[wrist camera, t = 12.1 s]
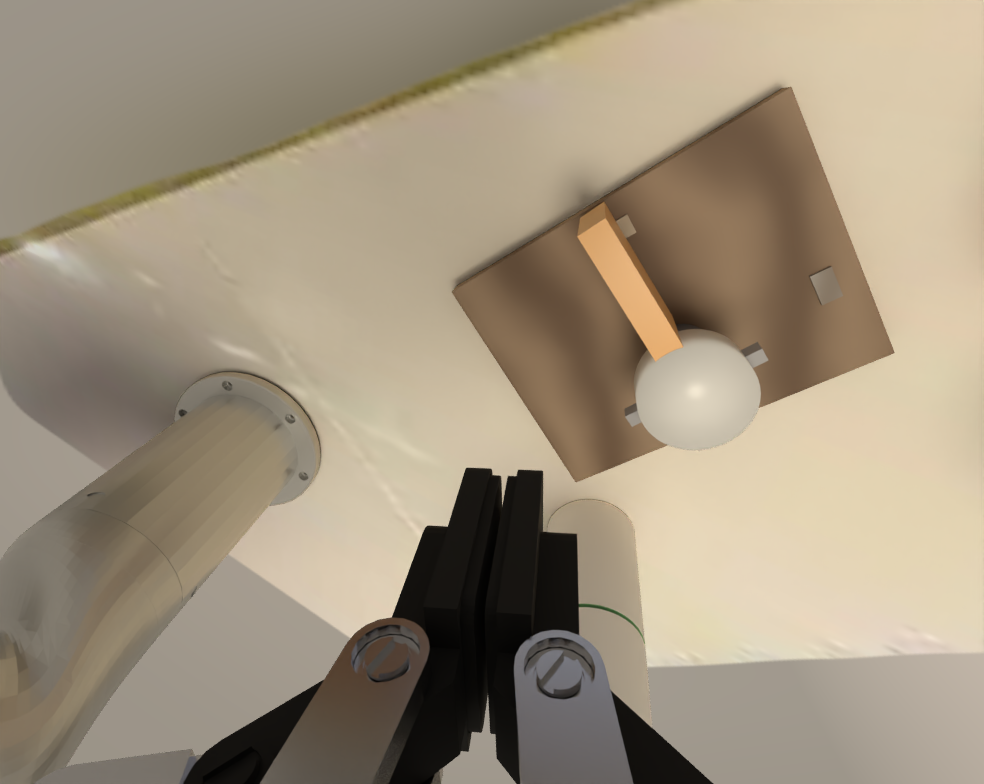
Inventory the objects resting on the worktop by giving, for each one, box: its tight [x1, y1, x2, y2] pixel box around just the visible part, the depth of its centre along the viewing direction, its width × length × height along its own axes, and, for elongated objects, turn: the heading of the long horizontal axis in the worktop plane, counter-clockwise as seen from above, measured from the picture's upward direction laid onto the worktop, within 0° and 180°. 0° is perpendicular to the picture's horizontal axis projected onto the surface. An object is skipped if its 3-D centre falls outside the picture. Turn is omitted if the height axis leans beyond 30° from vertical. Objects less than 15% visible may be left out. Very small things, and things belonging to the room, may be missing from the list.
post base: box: [452, 87, 894, 482], centre depth 34 cm, size 22×17×6 cm
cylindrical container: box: [547, 499, 652, 727], centre depth 35 cm, size 7×7×25 cm
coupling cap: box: [577, 202, 768, 450], centre depth 32 cm, size 14×8×6 cm, turn 36°
